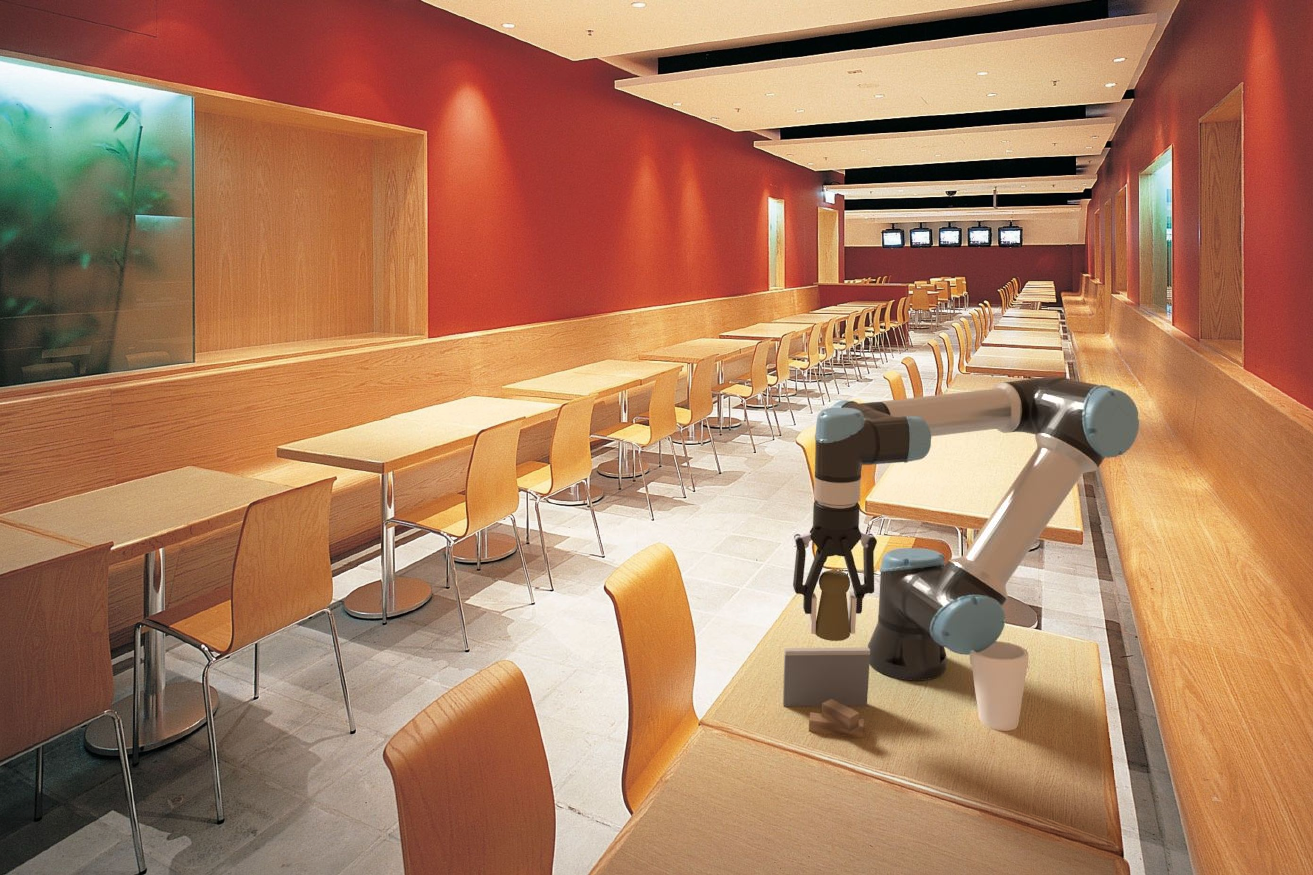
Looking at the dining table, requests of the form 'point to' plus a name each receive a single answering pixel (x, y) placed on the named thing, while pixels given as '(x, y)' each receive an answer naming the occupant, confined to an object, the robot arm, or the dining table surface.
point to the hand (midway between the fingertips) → (831, 629)
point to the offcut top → (840, 714)
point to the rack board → (826, 676)
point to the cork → (833, 606)
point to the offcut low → (833, 726)
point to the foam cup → (999, 684)
